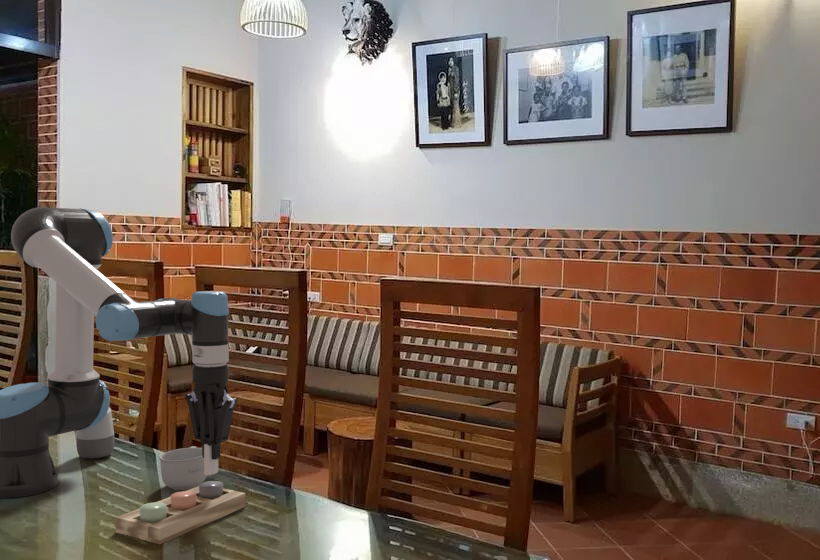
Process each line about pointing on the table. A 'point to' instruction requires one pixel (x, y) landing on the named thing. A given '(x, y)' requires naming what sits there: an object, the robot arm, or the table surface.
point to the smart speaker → (96, 439)
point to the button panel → (180, 517)
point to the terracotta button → (183, 500)
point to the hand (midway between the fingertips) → (211, 473)
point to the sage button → (153, 512)
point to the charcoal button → (211, 489)
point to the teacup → (183, 468)
